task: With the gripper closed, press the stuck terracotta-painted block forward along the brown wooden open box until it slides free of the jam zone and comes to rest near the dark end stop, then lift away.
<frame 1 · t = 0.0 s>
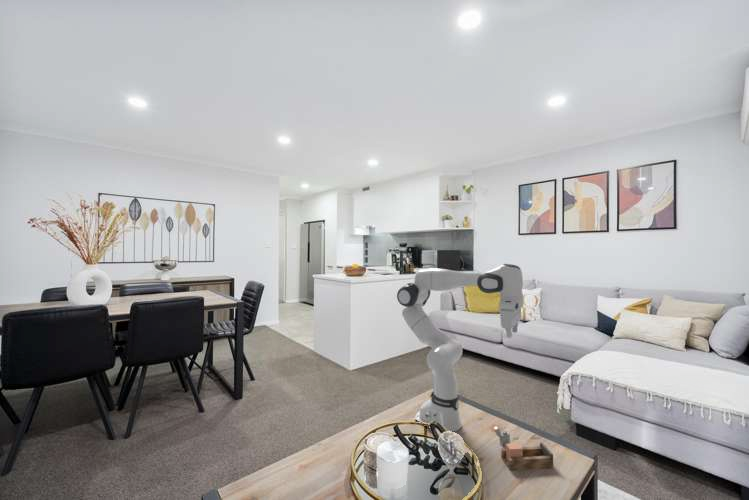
hand: (512, 334, 130), 48 cm above the table, fingers open, 8 cm apart
brown wooden open box: (526, 463, 121), on the table
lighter: (502, 444, 133), on the table
block: (514, 453, 120), point 4 cm above the table, slide at 0.0 cm
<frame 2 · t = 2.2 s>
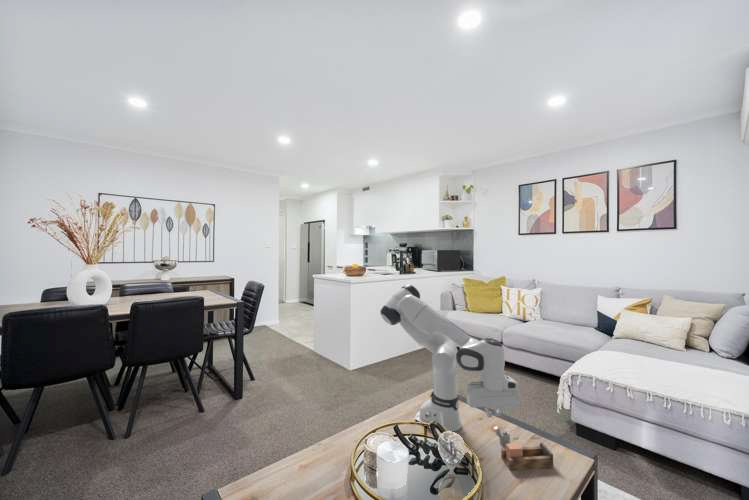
hand: (493, 416, 120), 19 cm above the table, fingers closed
nothing on the table moved.
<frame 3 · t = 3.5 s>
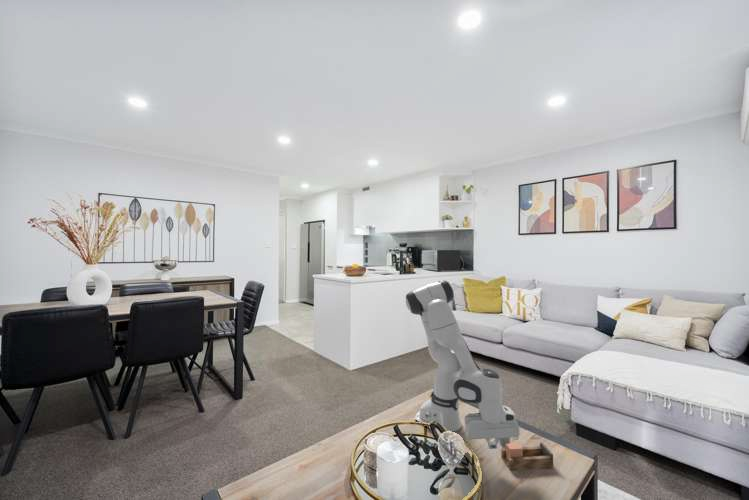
hand: (492, 447, 120), 7 cm above the table, fingers closed
nothing on the table moved.
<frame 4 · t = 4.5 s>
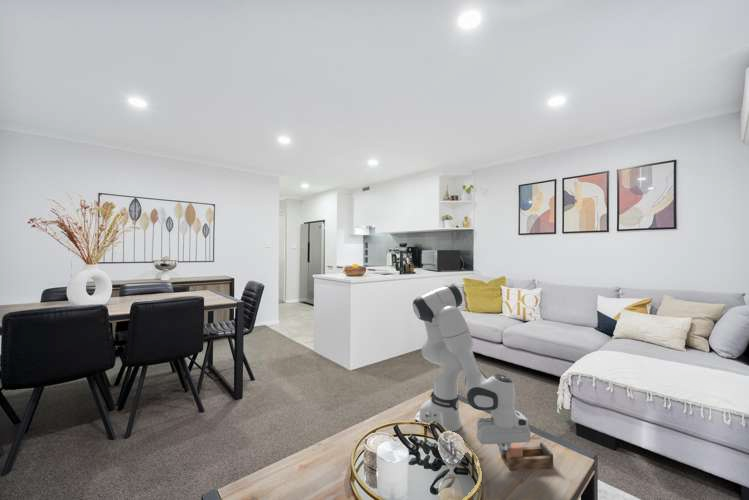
hand: (503, 452, 120), 5 cm above the table, fingers closed
block: (514, 453, 120), point 4 cm above the table, slide at 0.0 cm, touching gripper
everything else where it was.
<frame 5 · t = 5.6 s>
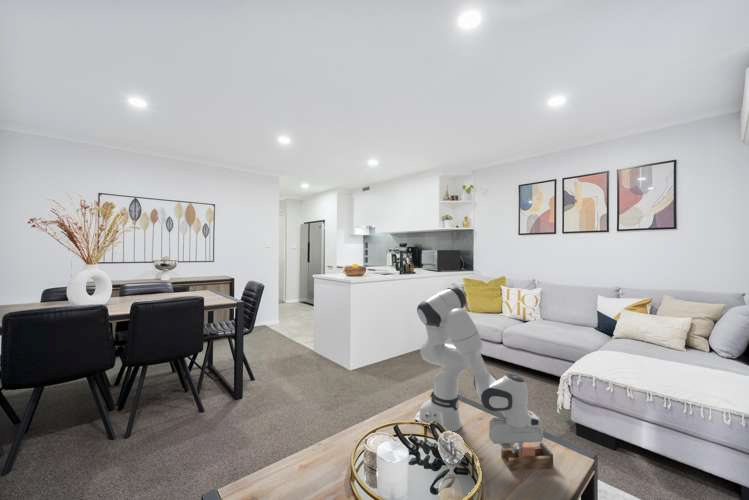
hand: (515, 452, 120), 5 cm above the table, fingers closed
block: (526, 453, 121), point 4 cm above the table, slide at 4.9 cm, touching gripper
everything else where it was.
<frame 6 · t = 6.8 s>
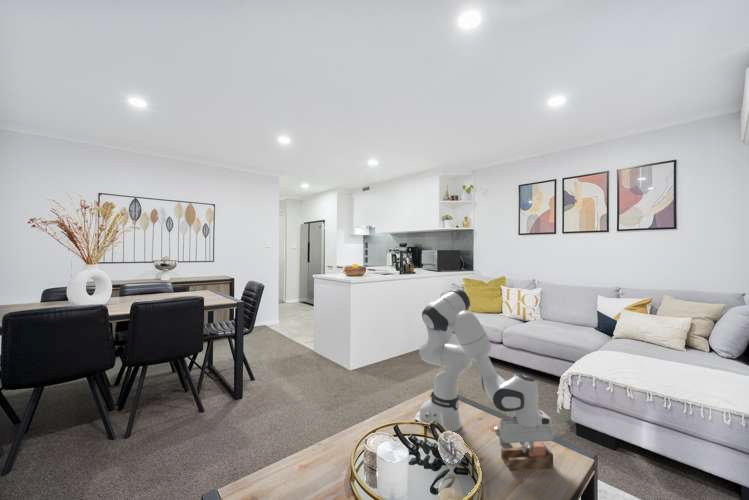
hand: (526, 451, 121), 5 cm above the table, fingers closed
block: (536, 452, 121), point 4 cm above the table, slide at 9.2 cm, touching gripper
everything else where it was.
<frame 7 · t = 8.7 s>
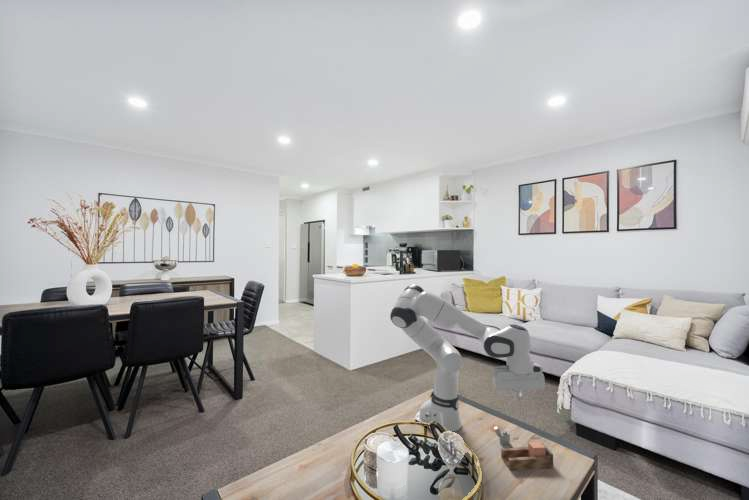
hand: (518, 399, 125), 23 cm above the table, fingers closed
block: (536, 452, 121), point 4 cm above the table, slide at 9.2 cm
everything else where it was.
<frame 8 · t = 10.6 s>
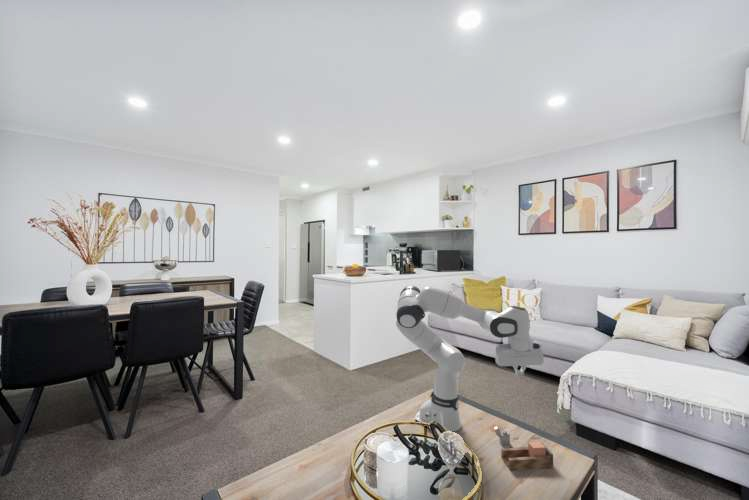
hand: (519, 374, 134), 29 cm above the table, fingers closed
nothing on the table moved.
at the end: block slide at 9.2 cm; the gripper is holding nothing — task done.
